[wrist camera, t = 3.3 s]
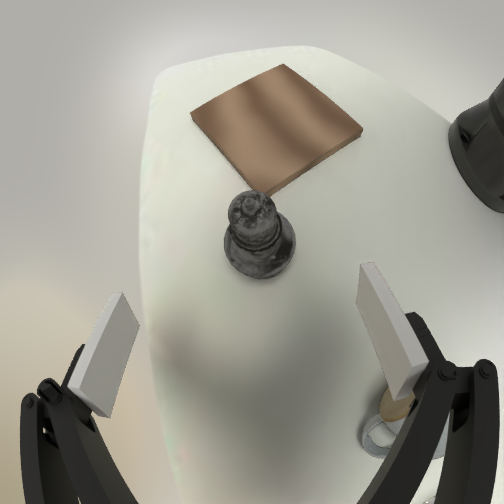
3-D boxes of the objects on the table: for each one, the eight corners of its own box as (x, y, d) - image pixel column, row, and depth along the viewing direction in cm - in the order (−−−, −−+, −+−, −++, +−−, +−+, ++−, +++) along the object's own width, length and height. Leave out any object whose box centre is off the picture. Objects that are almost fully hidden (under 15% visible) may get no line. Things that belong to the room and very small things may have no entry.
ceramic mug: (412, 348, 23) (454, 358, 15) (452, 389, 21) (494, 405, 13) (339, 428, 22) (358, 465, 14) (387, 463, 20) (412, 498, 13)
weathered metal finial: (226, 227, 27) (191, 165, 15) (286, 216, 27) (291, 146, 15) (235, 287, 26) (201, 264, 14) (298, 276, 25) (316, 244, 14)
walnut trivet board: (283, 71, 31) (283, 63, 30) (360, 136, 28) (363, 128, 26) (193, 120, 30) (189, 112, 29) (262, 201, 27) (261, 195, 26)
